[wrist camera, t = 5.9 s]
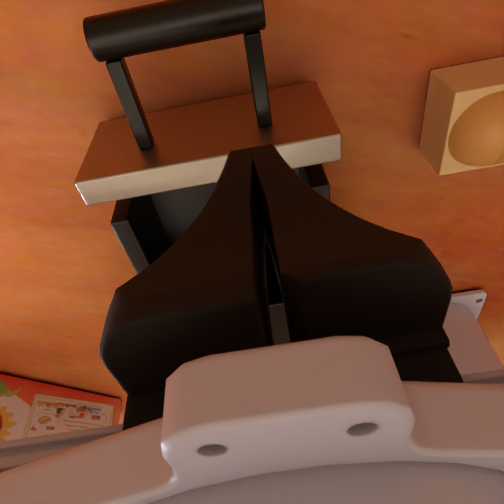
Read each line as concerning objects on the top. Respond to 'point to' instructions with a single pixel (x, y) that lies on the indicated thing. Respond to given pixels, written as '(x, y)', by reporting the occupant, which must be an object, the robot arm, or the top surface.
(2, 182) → the top surface
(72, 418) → the cracker box
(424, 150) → the tan domed block
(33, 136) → the top surface
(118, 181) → the drawer
